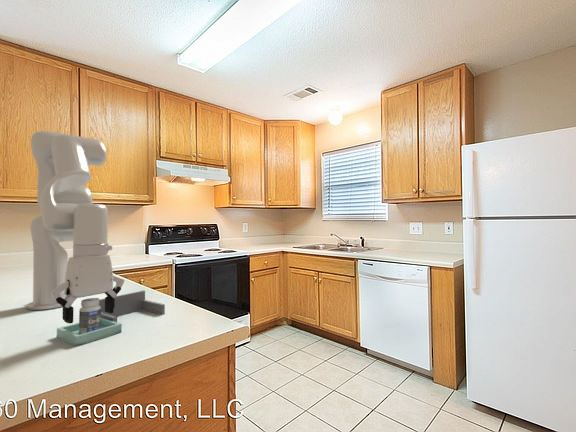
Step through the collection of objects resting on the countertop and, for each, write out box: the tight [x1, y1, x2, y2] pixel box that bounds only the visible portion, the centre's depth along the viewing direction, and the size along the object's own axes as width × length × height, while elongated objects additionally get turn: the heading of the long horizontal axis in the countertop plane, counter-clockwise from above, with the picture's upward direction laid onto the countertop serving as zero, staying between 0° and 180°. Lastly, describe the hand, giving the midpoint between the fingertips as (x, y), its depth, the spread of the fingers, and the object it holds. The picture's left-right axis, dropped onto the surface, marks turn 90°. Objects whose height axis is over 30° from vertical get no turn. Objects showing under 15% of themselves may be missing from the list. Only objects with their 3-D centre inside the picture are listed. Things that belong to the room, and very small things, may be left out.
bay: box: [99, 290, 166, 323], centre depth 93 cm, size 12×16×6 cm
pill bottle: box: [78, 297, 101, 334], centre depth 79 cm, size 5×5×8 cm
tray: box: [56, 317, 123, 347], centre depth 79 cm, size 11×11×2 cm
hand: (89, 317), depth 79 cm, fingers open, 9 cm apart
